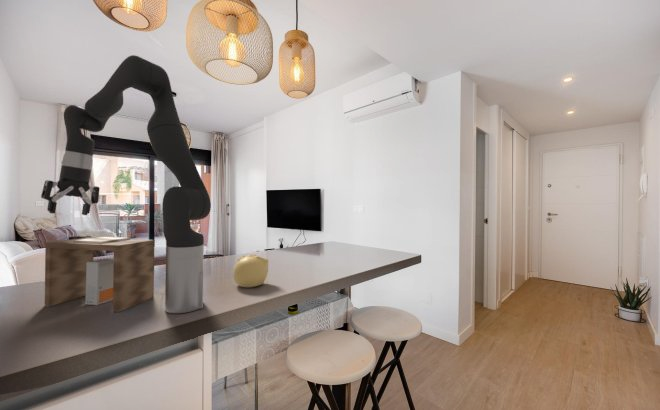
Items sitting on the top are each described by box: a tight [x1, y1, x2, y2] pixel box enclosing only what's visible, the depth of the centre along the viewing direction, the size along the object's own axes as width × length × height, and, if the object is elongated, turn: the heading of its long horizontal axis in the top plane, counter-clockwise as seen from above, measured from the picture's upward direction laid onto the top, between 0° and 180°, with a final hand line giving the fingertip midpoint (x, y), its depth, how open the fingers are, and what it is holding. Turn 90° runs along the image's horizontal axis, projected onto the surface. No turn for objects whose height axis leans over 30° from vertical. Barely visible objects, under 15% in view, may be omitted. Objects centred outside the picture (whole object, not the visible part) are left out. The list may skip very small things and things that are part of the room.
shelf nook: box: [44, 236, 155, 313], centre depth 80 cm, size 12×23×18 cm, turn 81°
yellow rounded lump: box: [232, 254, 269, 288], centre depth 98 cm, size 12×12×11 cm
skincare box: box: [84, 257, 114, 306], centre depth 80 cm, size 6×4×12 cm
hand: (68, 214), depth 93 cm, fingers open, 8 cm apart
